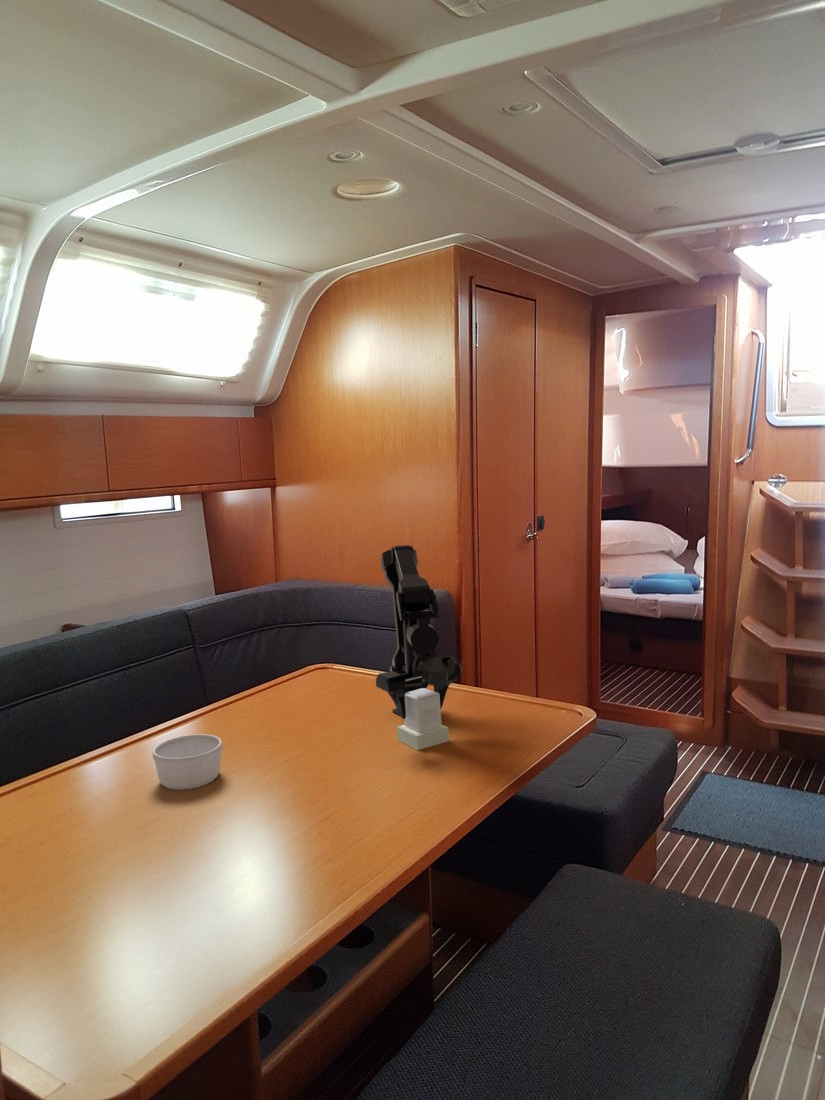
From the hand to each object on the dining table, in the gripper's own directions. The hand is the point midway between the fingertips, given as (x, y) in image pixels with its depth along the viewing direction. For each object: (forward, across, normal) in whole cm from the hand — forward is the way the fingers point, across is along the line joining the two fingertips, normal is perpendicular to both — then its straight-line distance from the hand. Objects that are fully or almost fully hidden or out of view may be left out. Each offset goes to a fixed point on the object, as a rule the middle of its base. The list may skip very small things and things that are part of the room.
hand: (421, 713), depth 165 cm
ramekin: (+6, -47, +13) cm, 49 cm away
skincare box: (+3, 0, 0) cm, 3 cm away
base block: (+6, 0, 0) cm, 6 cm away
